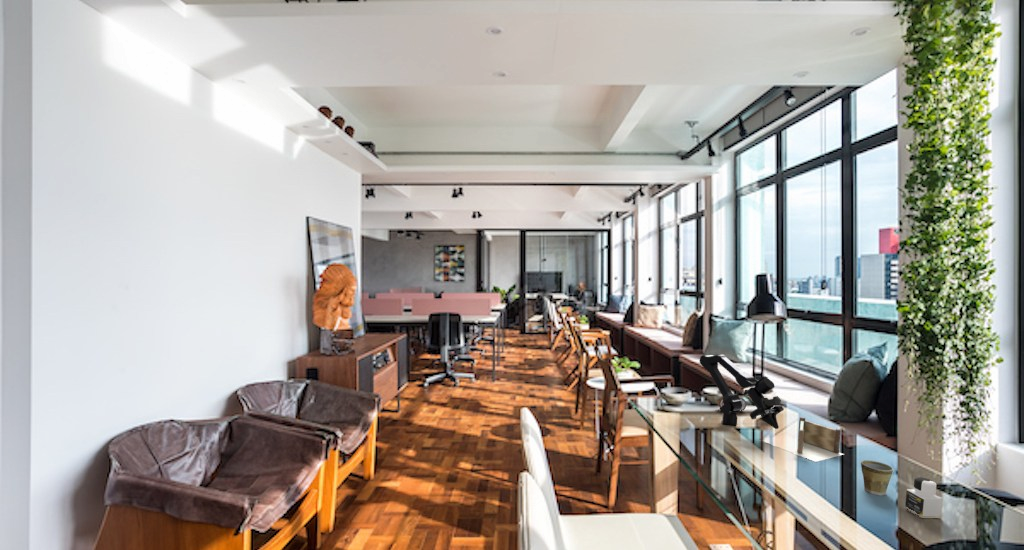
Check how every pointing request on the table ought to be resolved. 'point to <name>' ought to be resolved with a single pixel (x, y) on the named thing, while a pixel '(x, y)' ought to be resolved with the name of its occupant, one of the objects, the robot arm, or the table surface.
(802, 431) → the folding panel
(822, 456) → the card
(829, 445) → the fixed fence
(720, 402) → the tin
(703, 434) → the table surface
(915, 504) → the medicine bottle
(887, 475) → the ceramic cup
